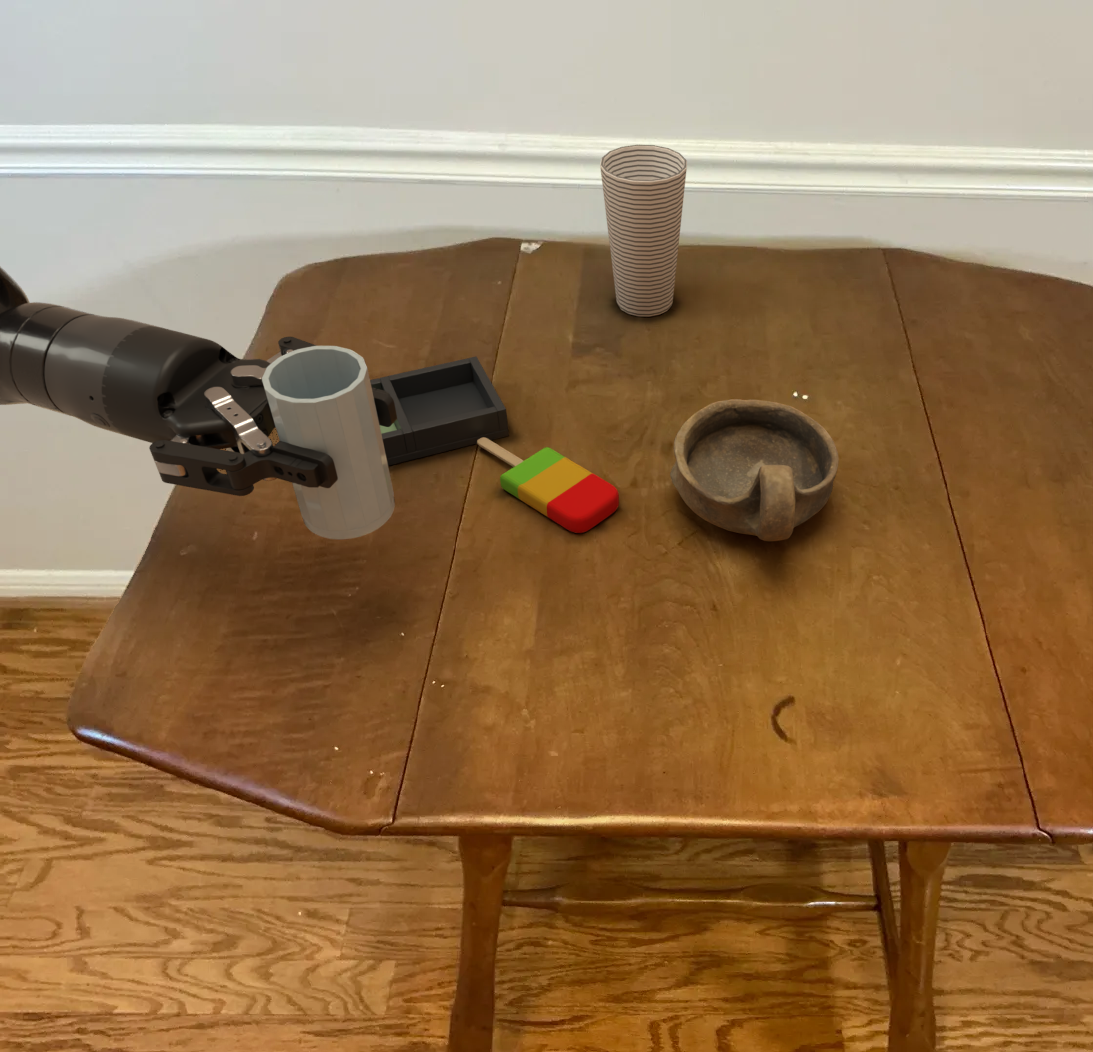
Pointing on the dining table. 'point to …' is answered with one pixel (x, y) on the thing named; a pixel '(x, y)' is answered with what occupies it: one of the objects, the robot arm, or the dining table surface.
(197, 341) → the robot arm
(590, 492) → the popsicle
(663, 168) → the cup
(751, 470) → the bowl
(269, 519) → the dining table surface
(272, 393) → the tumbler
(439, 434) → the tray
